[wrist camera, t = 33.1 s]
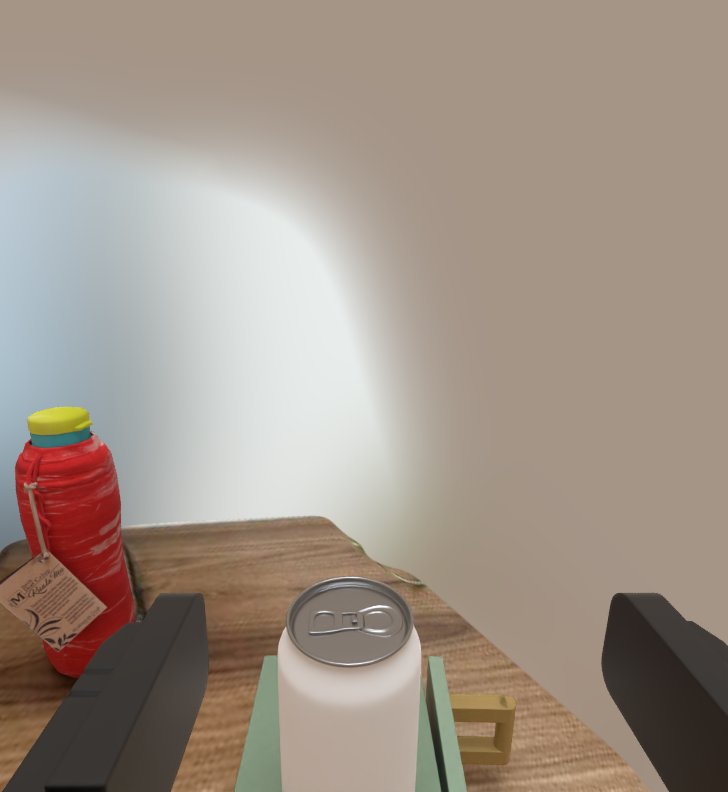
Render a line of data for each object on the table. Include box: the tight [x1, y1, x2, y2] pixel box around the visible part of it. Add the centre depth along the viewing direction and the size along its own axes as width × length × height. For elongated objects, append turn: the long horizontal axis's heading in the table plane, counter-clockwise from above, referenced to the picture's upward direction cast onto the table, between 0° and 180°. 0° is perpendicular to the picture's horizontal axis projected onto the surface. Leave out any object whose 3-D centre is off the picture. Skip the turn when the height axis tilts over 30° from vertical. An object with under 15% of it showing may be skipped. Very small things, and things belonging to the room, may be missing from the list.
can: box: [278, 576, 421, 792], centre depth 23 cm, size 6×6×12 cm
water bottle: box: [0, 407, 135, 679], centre depth 42 cm, size 12×8×25 cm, turn 178°
